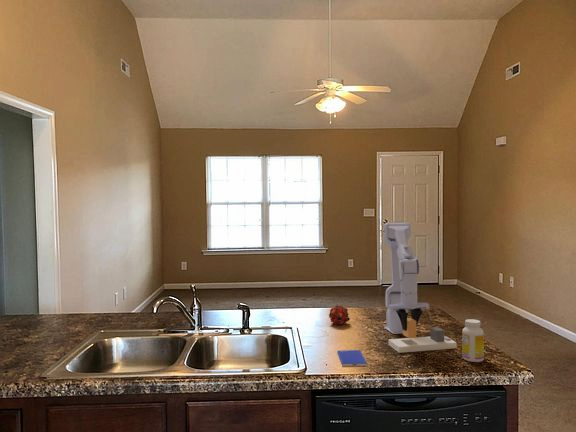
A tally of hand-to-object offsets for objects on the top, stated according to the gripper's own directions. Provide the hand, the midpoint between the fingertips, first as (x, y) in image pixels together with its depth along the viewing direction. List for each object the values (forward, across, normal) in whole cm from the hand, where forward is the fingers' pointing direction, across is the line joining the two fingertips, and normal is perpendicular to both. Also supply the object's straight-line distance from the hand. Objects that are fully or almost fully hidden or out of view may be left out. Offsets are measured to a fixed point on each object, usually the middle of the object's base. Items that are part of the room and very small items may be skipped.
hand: (409, 329), depth 163 cm
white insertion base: (+6, +5, 0) cm, 8 cm away
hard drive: (+7, -24, -7) cm, 26 cm away
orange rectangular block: (+2, 0, 0) cm, 2 cm away
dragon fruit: (+7, -15, +36) cm, 40 cm away
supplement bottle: (+7, +15, -16) cm, 23 cm away
